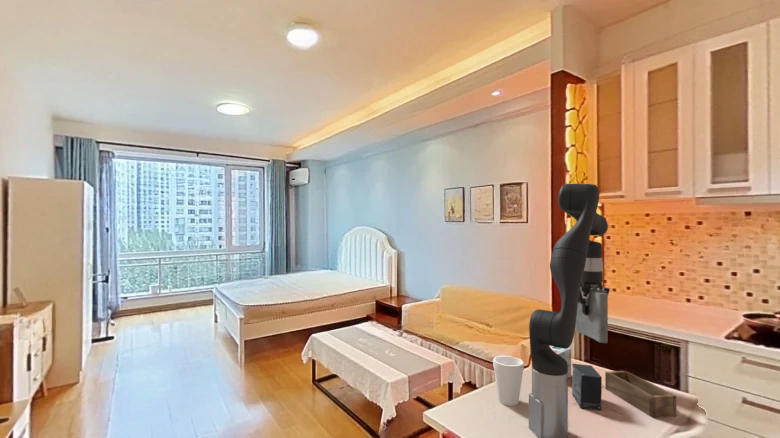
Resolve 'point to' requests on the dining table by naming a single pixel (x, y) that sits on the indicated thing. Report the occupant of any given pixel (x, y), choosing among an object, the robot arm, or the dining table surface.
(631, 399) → the wooden open tray
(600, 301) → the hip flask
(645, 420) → the dining table surface
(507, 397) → the foam cup
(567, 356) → the light bulb box
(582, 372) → the small box
